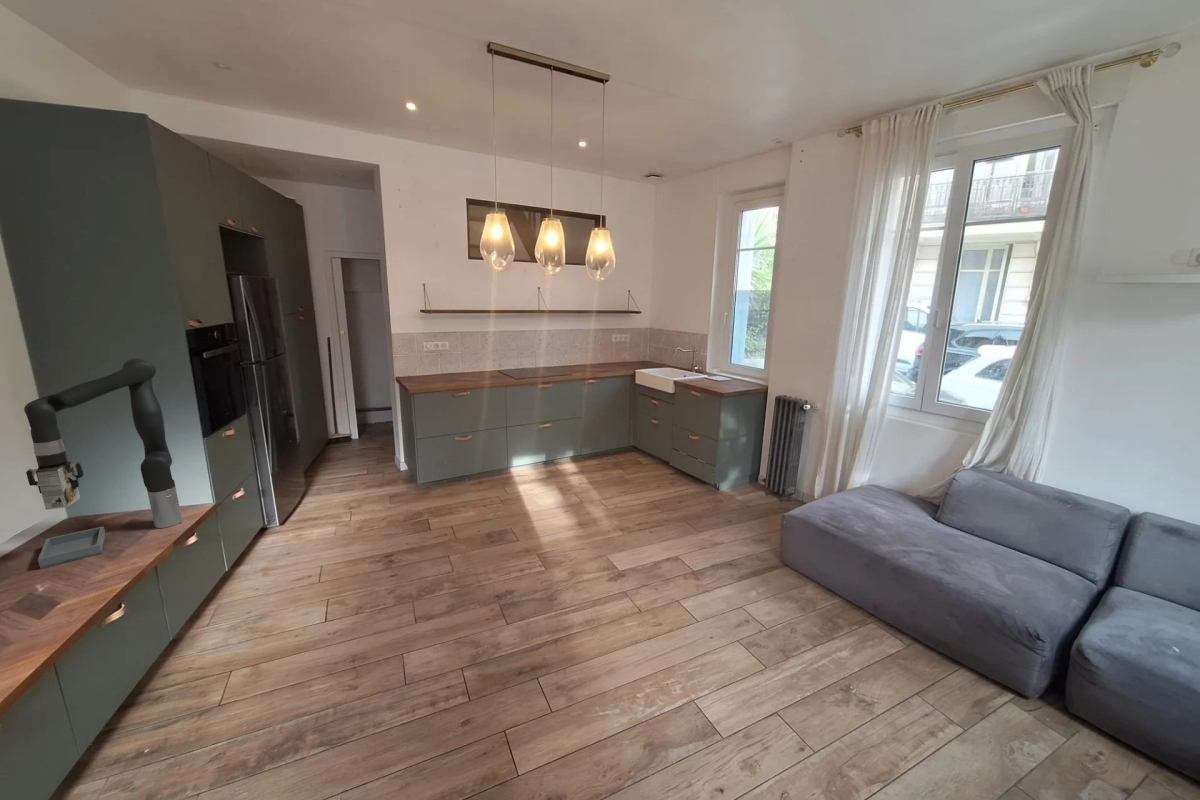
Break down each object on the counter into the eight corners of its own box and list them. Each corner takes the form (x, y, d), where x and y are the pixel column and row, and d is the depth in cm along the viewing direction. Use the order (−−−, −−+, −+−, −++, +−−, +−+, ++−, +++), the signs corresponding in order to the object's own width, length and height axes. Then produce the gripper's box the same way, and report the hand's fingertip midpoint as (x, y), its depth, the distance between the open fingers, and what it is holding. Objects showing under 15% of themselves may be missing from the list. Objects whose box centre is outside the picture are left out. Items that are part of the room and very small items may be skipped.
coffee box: (59, 500, 185) (49, 462, 181) (81, 498, 187) (72, 460, 184) (44, 510, 177) (34, 470, 173) (67, 507, 179) (57, 468, 176)
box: (105, 534, 199) (103, 526, 198) (101, 553, 185) (99, 544, 184) (48, 547, 188) (46, 538, 187) (40, 569, 174) (37, 559, 173)
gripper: (79, 445, 185) (88, 483, 188) (23, 453, 175) (34, 492, 179) (76, 450, 179) (86, 489, 183) (18, 458, 170) (30, 499, 173)
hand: (60, 491), depth 181 cm, fingers closed on coffee box, 7 cm apart
